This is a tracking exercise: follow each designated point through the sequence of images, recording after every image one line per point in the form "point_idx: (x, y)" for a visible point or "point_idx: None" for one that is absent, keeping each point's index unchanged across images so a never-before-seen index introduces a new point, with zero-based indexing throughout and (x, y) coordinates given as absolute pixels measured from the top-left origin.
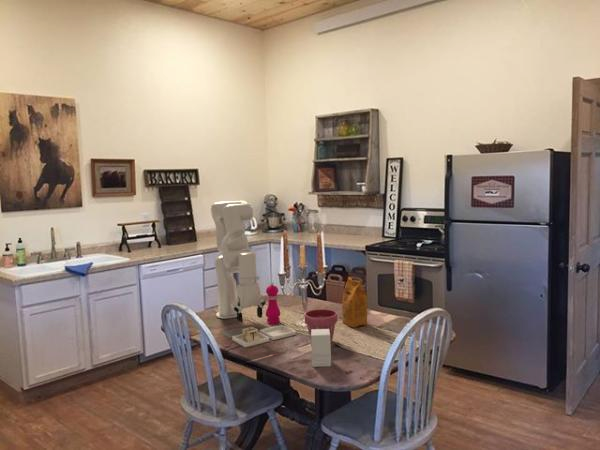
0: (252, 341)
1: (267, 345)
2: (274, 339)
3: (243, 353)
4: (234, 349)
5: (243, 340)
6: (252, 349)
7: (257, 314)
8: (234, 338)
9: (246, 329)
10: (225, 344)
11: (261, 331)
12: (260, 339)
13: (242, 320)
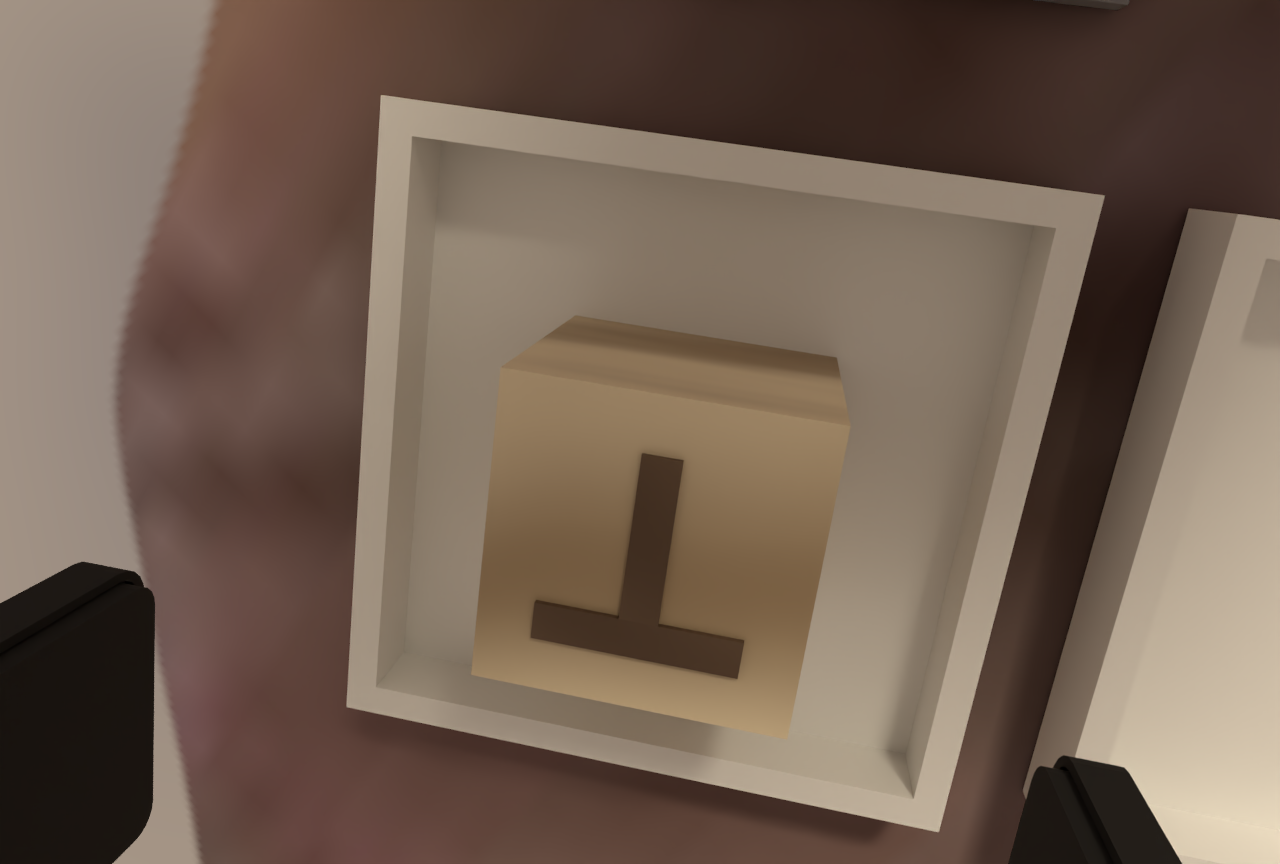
0: (534, 723)
1: (773, 855)
2: None
3: (245, 803)
4: (217, 550)
5: None
6: (455, 789)
7: (1058, 834)
8: (380, 229)
9: (565, 486)
10: (208, 186)
11: (1199, 316)
12: (730, 763)
13: (118, 854)
